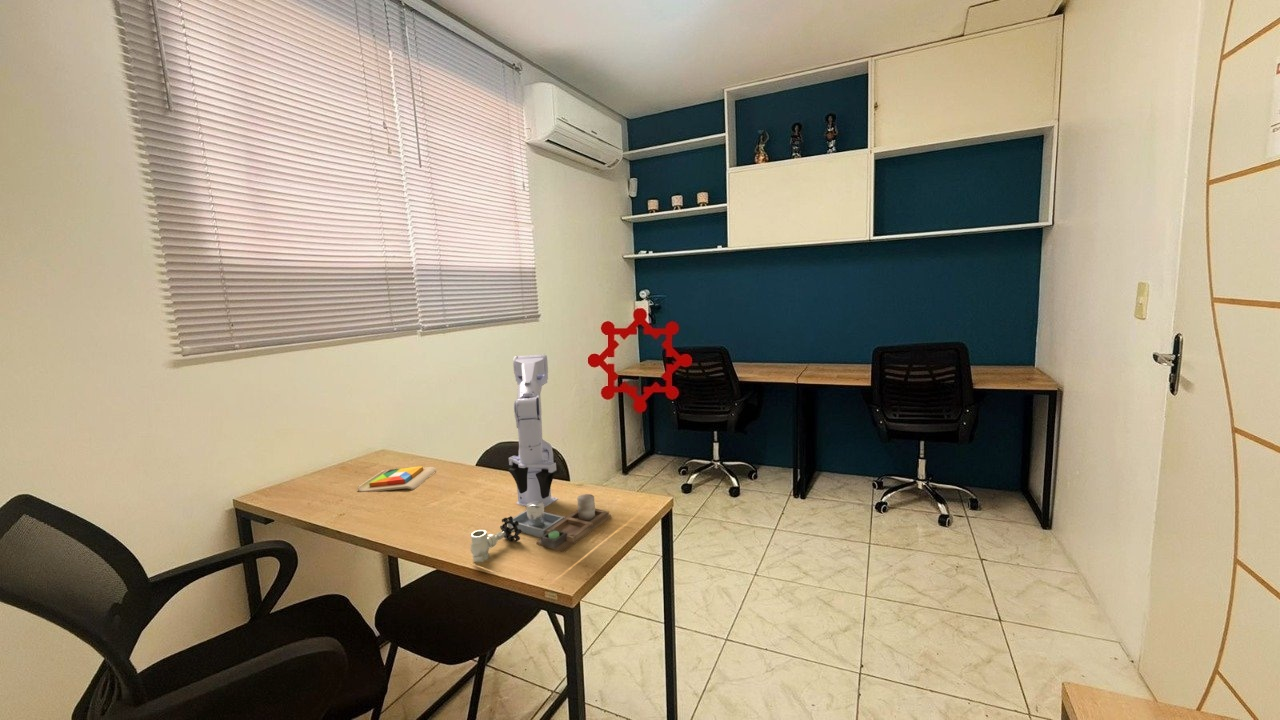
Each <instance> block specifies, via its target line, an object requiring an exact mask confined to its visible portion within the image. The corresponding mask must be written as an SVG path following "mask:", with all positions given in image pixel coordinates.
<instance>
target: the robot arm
mask: <svg viewBox="0 0 1280 720" xmlns="http://www.w3.org/2000/svg"><path fill="white" fill-rule="evenodd" d="M548 363H549V362H548V356H547V354H546V353H544V354H529V355H515V356H514V357H513V360H512V364H513V365H512V366H513V374H514V378H515V382H516V384H517V386H518V387H517V394H516V400H514V401H513V413H514V418H515V424H516V429H517V436H518V455H512V456H510V457H508V465H509V466H511V467H510V468H508V472H509V473H510V475H511V476H512V478H513V479H514V481H515V484H516V489H517V490H516V491H517V501H516V503H515V504H516V505H519V506H523V507H526V505H527V504H528V503H530V502H533V501H542V502H543V503H544V508H546V507H547V506H549V505H551V504H553V503H554V502H556V501H558V499H559V498H558V497H554V496H552V487H551V486H552V483H553V480H554V477H555V475H556V473H557V463H556V462H554V453H553V452H554V451H553V446H552V445H551V444H550V443H549V442H547V440H545V439H543V422H542V421H543V420H542V402H541V401H542V398H541V392H542V388H543V386H544V385H546V384H547V383H548V380H549V366H548V365H549V364H548Z"/></svg>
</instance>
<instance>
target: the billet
mask: <svg viewBox="0 0 1280 720" xmlns="http://www.w3.org/2000/svg"><path fill="white" fill-rule="evenodd" d="M525 507H526V510H527V520H528V525H530V526H533V527H537V528H541V529H542V528H544V527H545V515H544V512H545V507H544V503H543V502H542V501H533V502H530V503H528V504H527V505H526V506H525Z"/></svg>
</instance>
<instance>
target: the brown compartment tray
mask: <svg viewBox="0 0 1280 720" xmlns="http://www.w3.org/2000/svg"><path fill="white" fill-rule="evenodd" d="M611 517H612V514H610V511H608V510H604V509H601V508H600V509H599V508H596V506H595V496H594V495H593V494H589V493H585V494H581V495H579V496H578V497H577V510H575V511H573V512H572V513H570V514H569V515H567V516H565V517H564V519H563V520H561V521H560V522H558V523H556V524H555V525H553V526H552V527H550V528H549V529H547V530H546V534H545V535H543V536H542V537H541V538H539V539H538V540H536V541H535V543H536V545H538V546H541V547H545V548H548V549H552V550H556V551H558V552H562V553H564V552H566V551H567V550H568V549H570V548H571V547H573V546H574V545H576V543H578V542H579V541H580V540H582V539H583V538H584V537H586V536H587V535H588V534H590V533H591V532H593V531H594V530H596V529H597V528H598V527H599V526H600V525H602V524H603V523H605V522H606V521H607V520H609V519H610V518H611ZM552 531H558V532H559V537H558V538H557V539H555V540H554V539H550V538H549V536H548V534H549V533H550V532H552Z"/></svg>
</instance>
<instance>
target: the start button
mask: <svg viewBox="0 0 1280 720" xmlns="http://www.w3.org/2000/svg"><path fill="white" fill-rule="evenodd" d="M548 536H549V538H550V539H554V540H555V539H557V538H558V537H559V532H558V531H552V532H550V533H549V534H548Z"/></svg>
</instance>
